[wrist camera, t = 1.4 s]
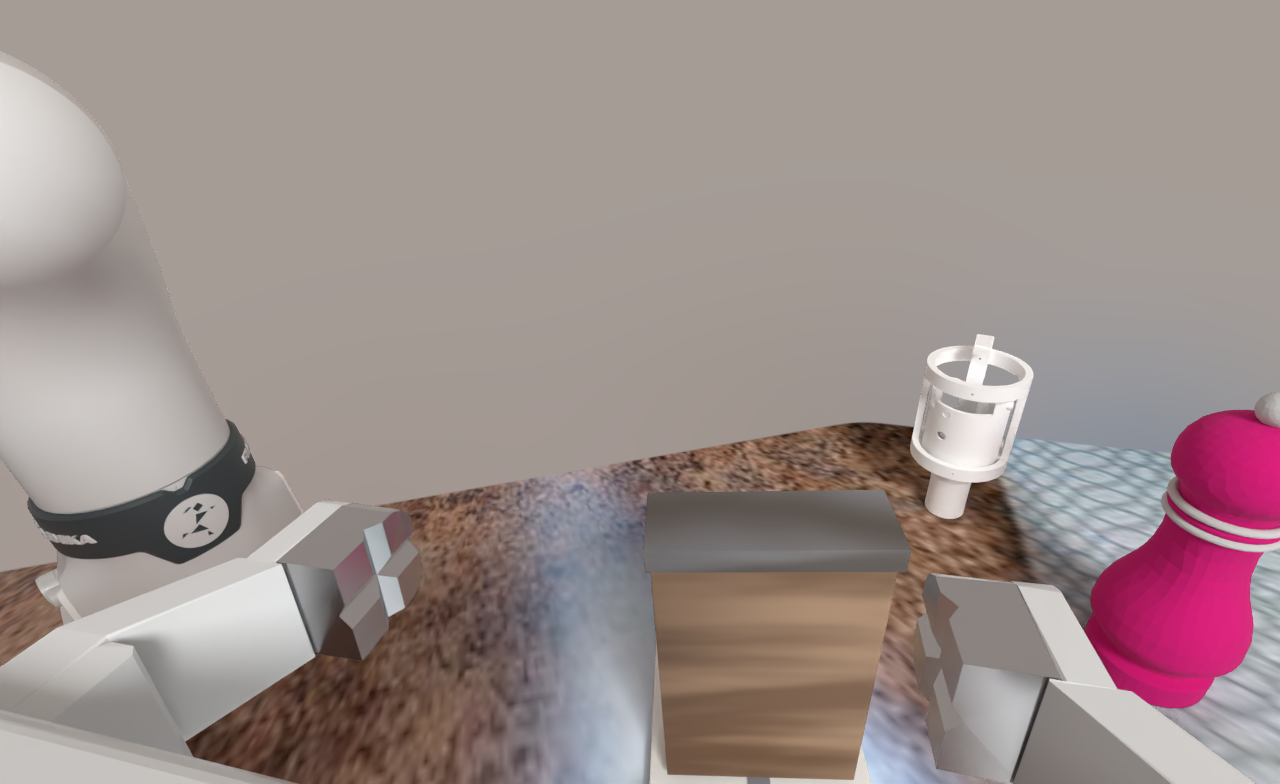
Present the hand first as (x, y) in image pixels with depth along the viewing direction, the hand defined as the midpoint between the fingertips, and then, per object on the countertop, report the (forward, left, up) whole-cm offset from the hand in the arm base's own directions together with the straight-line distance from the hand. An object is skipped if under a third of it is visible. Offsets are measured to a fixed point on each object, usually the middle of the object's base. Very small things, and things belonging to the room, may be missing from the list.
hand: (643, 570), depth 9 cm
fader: (-3, +13, -28) cm, 30 cm away
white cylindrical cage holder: (+3, +41, -29) cm, 50 cm away
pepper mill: (+16, +31, -29) cm, 45 cm away
